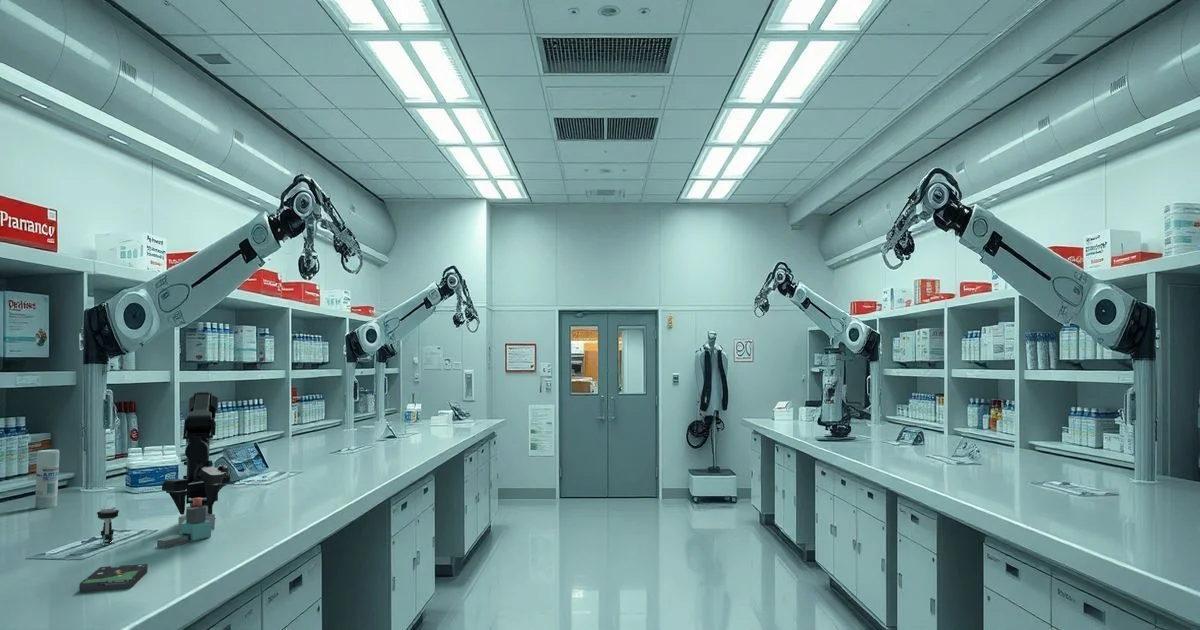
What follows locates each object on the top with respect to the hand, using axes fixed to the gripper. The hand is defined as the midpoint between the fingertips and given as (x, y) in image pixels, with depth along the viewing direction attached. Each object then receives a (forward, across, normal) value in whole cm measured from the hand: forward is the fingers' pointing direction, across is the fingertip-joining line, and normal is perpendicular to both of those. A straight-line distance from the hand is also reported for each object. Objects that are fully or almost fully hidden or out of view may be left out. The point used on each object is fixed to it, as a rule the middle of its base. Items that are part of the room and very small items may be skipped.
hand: (196, 511), depth 221 cm
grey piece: (+8, +9, +10) cm, 16 cm away
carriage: (+8, 0, 0) cm, 8 cm away
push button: (+8, -14, +18) cm, 24 cm away
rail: (+8, -3, 0) cm, 9 cm away
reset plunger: (+1, +9, +10) cm, 13 cm away
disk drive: (+9, -38, -20) cm, 44 cm away
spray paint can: (+8, +15, +93) cm, 95 cm away
